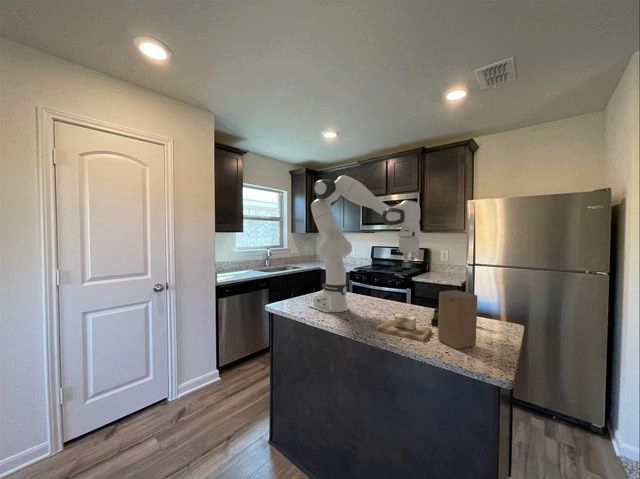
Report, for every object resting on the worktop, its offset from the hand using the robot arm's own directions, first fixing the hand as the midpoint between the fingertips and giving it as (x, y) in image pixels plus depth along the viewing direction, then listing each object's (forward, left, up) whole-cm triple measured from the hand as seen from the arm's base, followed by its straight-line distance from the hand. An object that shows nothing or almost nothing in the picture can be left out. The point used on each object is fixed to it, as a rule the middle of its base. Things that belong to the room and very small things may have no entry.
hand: (409, 261), depth 136 cm
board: (+4, -18, -29) cm, 35 cm away
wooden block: (+25, -19, -29) cm, 43 cm away
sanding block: (+5, -18, -28) cm, 33 cm away
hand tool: (+11, +6, -30) cm, 32 cm away
